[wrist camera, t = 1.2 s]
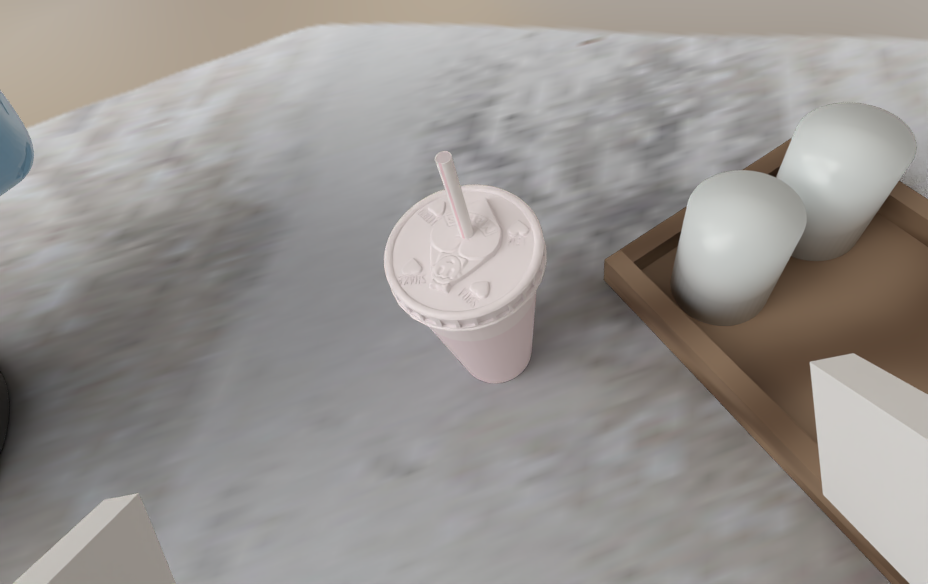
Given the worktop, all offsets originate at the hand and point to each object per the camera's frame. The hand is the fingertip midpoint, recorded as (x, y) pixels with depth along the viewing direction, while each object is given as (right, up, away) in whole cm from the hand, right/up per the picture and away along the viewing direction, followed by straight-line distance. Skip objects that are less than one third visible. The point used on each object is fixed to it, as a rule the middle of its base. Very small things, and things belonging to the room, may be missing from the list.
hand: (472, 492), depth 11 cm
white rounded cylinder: (+13, +4, +18) cm, 22 cm away
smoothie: (+2, +1, +19) cm, 19 cm away
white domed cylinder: (+18, +7, +19) cm, 27 cm away
